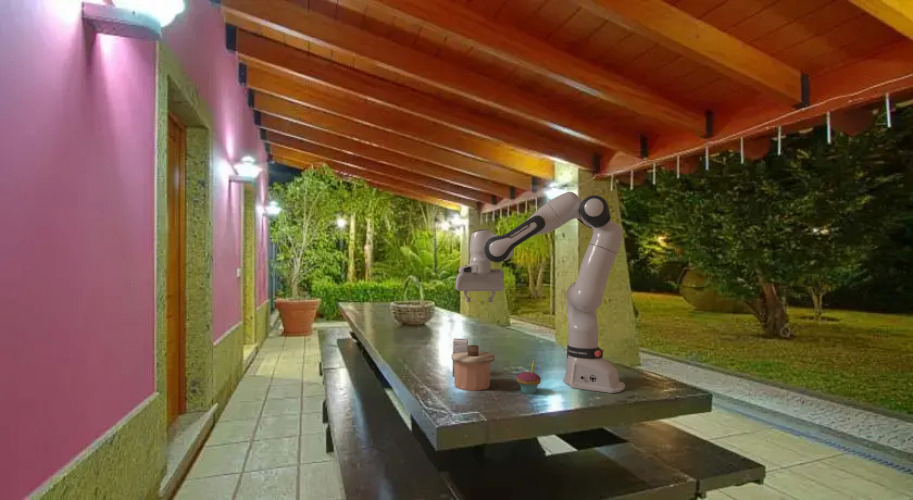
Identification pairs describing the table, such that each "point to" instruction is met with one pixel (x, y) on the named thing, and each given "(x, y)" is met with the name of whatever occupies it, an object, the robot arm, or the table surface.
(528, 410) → the table surface
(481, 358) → the lid
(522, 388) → the cupcake
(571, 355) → the robot arm
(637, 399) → the table surface
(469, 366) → the pot
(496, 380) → the table surface
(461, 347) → the syrup box
